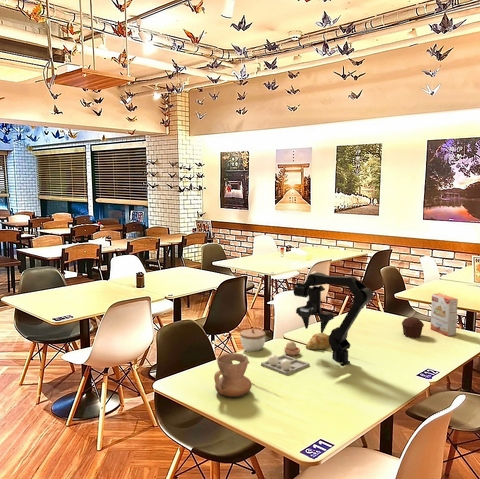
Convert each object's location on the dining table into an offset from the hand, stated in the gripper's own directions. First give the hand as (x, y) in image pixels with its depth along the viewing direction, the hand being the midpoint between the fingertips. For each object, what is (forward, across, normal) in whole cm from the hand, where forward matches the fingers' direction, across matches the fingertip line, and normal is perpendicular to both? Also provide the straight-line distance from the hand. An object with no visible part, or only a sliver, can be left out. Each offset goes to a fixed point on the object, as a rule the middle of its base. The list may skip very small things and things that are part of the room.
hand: (314, 330), depth 221 cm
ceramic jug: (+13, +3, -56) cm, 58 cm away
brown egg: (+10, -7, -8) cm, 15 cm away
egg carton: (+13, 0, -22) cm, 25 cm away
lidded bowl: (+13, -26, -16) cm, 33 cm away
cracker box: (+13, +27, +82) cm, 87 cm away
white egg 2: (+11, +4, -25) cm, 28 cm away
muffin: (+13, +18, +64) cm, 68 cm away
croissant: (+13, -7, +14) cm, 20 cm away
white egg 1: (+11, -3, -25) cm, 28 cm away
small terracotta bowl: (+13, -7, -8) cm, 16 cm away
